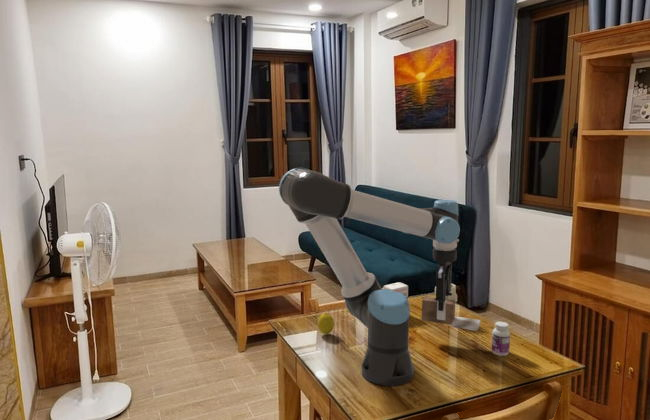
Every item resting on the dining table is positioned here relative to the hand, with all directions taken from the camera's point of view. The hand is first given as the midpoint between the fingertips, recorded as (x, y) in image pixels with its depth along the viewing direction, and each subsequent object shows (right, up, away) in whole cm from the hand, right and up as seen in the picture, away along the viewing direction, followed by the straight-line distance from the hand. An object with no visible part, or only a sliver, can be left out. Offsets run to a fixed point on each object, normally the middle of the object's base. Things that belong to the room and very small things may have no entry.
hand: (442, 316), depth 164 cm
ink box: (-12, -5, +26) cm, 29 cm away
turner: (+3, -2, -1) cm, 4 cm away
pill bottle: (+17, -10, -6) cm, 20 cm away
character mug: (+6, -6, +22) cm, 23 cm away
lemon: (-39, -8, +8) cm, 40 cm away
